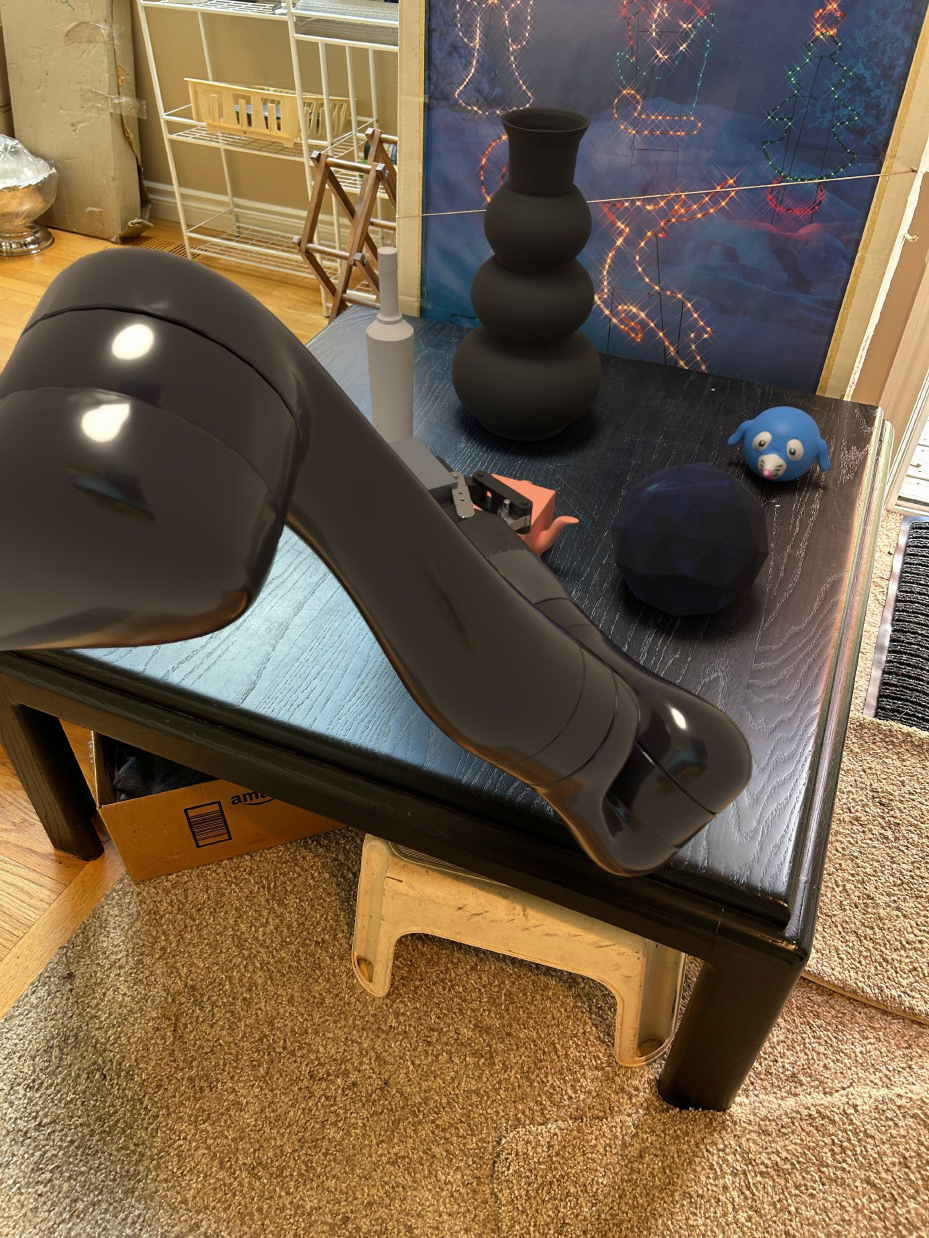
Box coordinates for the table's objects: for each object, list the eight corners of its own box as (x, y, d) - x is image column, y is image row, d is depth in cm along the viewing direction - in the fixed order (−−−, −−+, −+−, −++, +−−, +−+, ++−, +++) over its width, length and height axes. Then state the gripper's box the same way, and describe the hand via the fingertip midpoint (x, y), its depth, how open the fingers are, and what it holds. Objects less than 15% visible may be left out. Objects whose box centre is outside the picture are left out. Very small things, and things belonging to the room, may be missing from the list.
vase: (449, 387, 122) (452, 95, 98) (584, 388, 123) (619, 98, 99) (453, 461, 108) (458, 143, 85) (604, 461, 109) (651, 146, 86)
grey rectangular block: (397, 605, 70) (395, 498, 64) (352, 541, 76) (346, 438, 69) (454, 586, 72) (458, 481, 65) (406, 526, 78) (405, 423, 71)
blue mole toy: (704, 492, 105) (720, 428, 99) (732, 445, 113) (748, 383, 107) (809, 522, 101) (831, 458, 95) (829, 471, 109) (851, 409, 103)
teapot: (550, 613, 89) (558, 546, 83) (414, 569, 93) (413, 503, 87) (590, 547, 97) (599, 481, 91) (463, 509, 101) (465, 445, 95)
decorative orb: (555, 537, 89) (649, 473, 76) (647, 480, 97) (746, 413, 84) (634, 659, 89) (741, 614, 76) (719, 592, 97) (829, 541, 84)
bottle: (368, 471, 106) (356, 257, 90) (378, 448, 110) (368, 239, 93) (411, 475, 106) (407, 262, 89) (419, 452, 110) (417, 243, 93)
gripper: (598, 525, 59) (474, 407, 70) (399, 587, 54) (298, 449, 65) (584, 610, 64) (470, 488, 75) (401, 675, 59) (307, 533, 70)
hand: (391, 471), depth 70 cm, fingers closed on grey rectangular block, 5 cm apart
